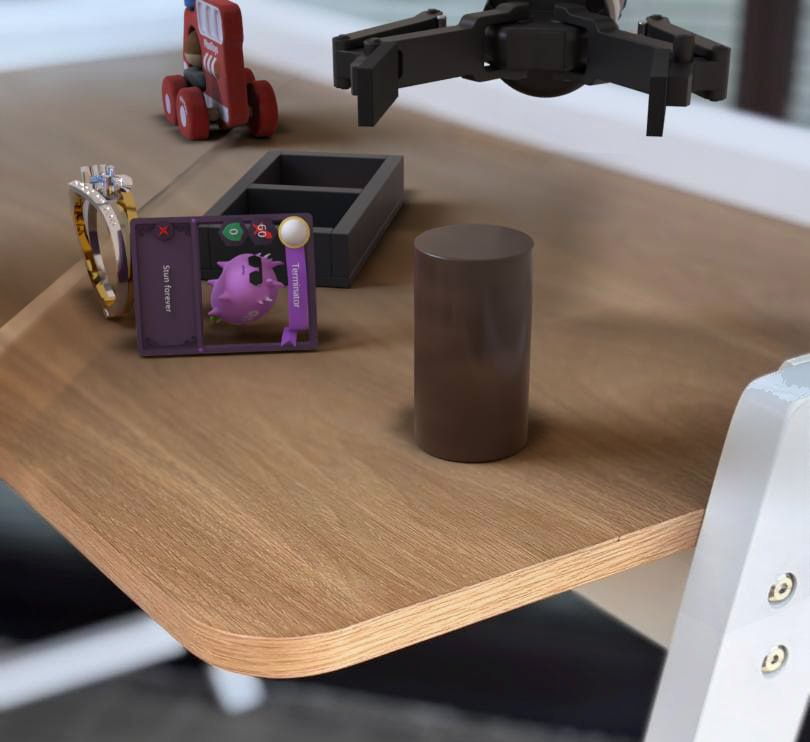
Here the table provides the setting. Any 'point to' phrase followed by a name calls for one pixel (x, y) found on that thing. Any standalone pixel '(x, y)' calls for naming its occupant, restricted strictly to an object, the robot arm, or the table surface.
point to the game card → (218, 281)
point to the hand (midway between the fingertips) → (508, 102)
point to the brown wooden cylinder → (472, 341)
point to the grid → (312, 210)
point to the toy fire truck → (217, 76)
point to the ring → (96, 196)
